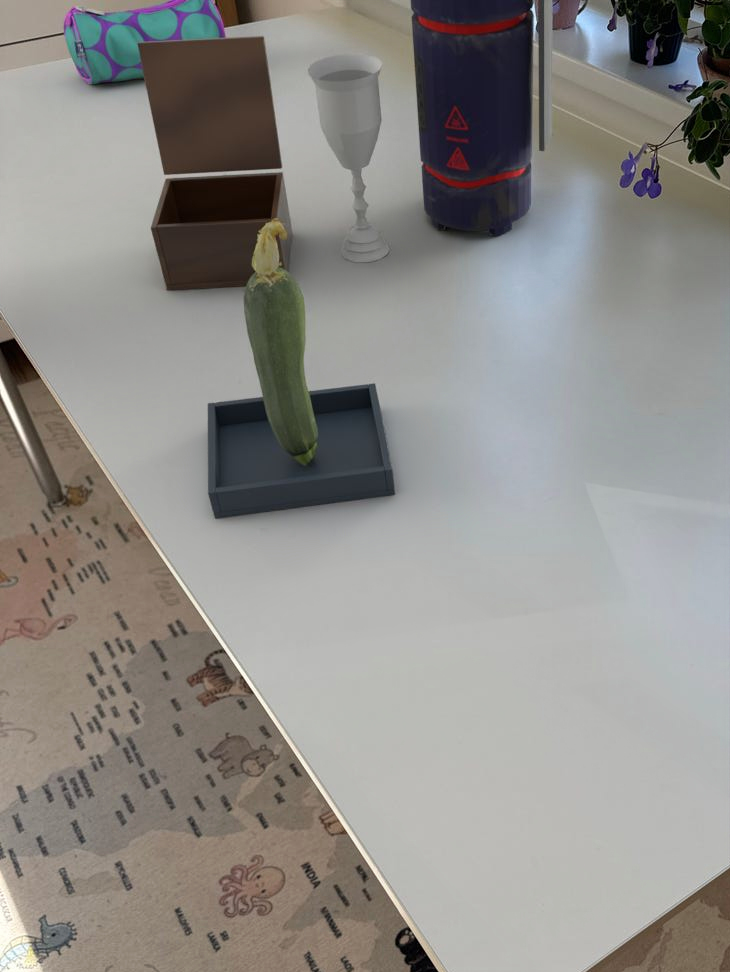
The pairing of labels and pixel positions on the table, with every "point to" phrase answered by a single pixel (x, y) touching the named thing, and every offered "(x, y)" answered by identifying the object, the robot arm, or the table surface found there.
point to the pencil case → (133, 35)
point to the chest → (217, 227)
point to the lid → (211, 104)
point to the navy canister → (479, 107)
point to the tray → (279, 476)
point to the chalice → (352, 135)
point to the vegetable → (280, 346)
